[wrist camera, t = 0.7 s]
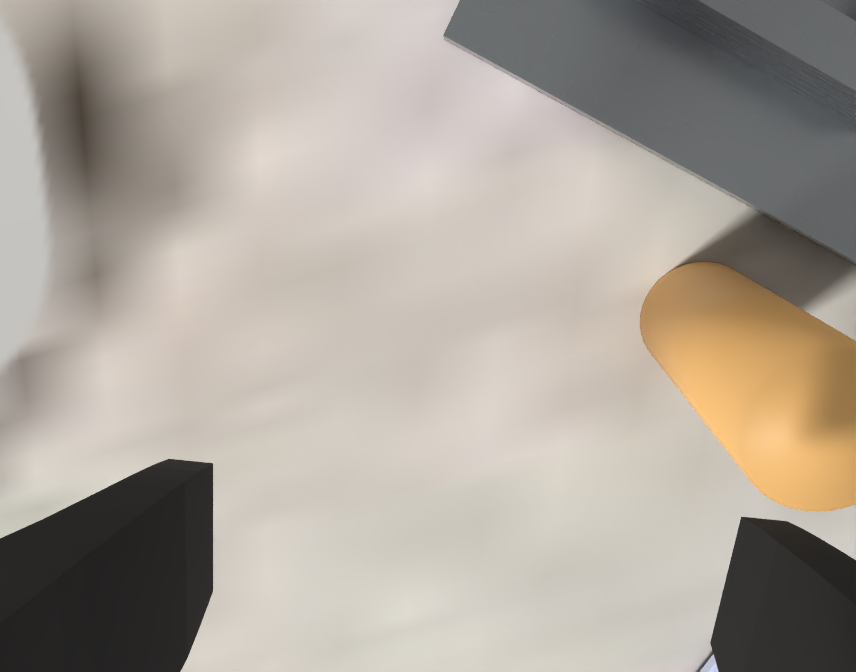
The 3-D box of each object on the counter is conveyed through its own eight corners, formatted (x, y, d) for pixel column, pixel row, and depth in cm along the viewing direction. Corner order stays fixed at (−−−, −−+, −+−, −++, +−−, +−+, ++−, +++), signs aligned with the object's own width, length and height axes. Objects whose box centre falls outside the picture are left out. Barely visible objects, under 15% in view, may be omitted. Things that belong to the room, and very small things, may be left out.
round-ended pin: (780, 294, 19) (960, 398, 12) (714, 390, 20) (848, 538, 13) (681, 241, 18) (808, 317, 12) (618, 341, 19) (702, 465, 13)
